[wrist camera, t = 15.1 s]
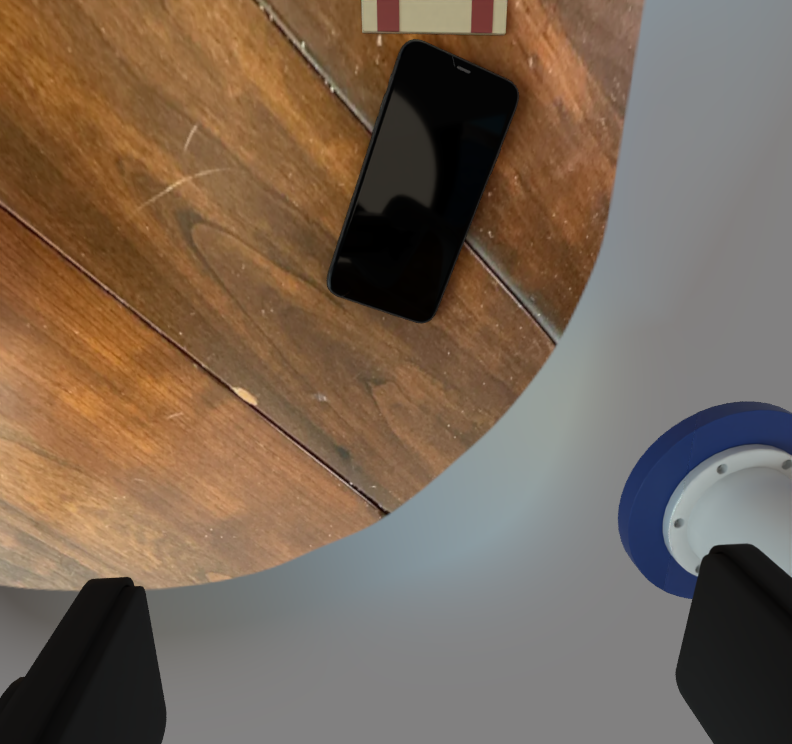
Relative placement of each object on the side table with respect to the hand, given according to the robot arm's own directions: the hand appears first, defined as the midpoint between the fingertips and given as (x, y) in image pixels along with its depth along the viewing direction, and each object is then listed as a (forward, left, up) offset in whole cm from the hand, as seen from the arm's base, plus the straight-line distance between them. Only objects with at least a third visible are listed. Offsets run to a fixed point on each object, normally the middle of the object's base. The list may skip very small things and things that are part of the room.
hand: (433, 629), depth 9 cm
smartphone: (-4, -6, -27) cm, 28 cm away
